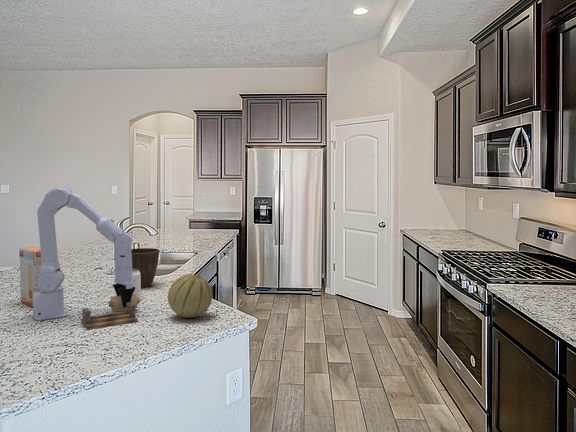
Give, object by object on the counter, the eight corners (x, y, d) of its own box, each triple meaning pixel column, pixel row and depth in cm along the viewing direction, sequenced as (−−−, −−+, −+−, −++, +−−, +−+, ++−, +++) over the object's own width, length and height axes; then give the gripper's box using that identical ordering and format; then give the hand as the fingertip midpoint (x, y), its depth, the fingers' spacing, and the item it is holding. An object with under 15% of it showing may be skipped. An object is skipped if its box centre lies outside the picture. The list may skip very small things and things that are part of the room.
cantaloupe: (165, 313, 168) (164, 271, 167) (206, 309, 174) (206, 268, 173) (172, 325, 154) (171, 279, 153) (217, 320, 160) (216, 275, 159)
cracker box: (51, 305, 179) (49, 249, 177) (33, 308, 174) (31, 251, 173) (37, 299, 188) (35, 246, 187) (20, 302, 184) (18, 247, 182)
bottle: (111, 312, 166) (111, 298, 165) (107, 309, 170) (107, 295, 169) (140, 309, 171) (140, 295, 171) (136, 306, 175) (136, 292, 175)
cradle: (87, 329, 150) (87, 313, 149) (81, 321, 158) (80, 306, 158) (137, 321, 158) (137, 306, 158) (129, 314, 166) (128, 300, 166)
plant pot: (160, 289, 207) (160, 252, 206) (123, 291, 203) (123, 253, 202) (159, 282, 221) (159, 247, 220) (125, 284, 217) (124, 248, 216)
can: (134, 297, 191) (134, 267, 191) (144, 300, 187) (143, 269, 186) (120, 300, 186) (119, 270, 186) (129, 303, 182) (128, 272, 181)
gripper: (141, 269, 166) (141, 308, 167) (129, 263, 178) (129, 299, 179) (120, 271, 162) (120, 311, 163) (109, 264, 174) (109, 302, 175)
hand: (124, 305), depth 170 cm, fingers closed on bottle, 5 cm apart
